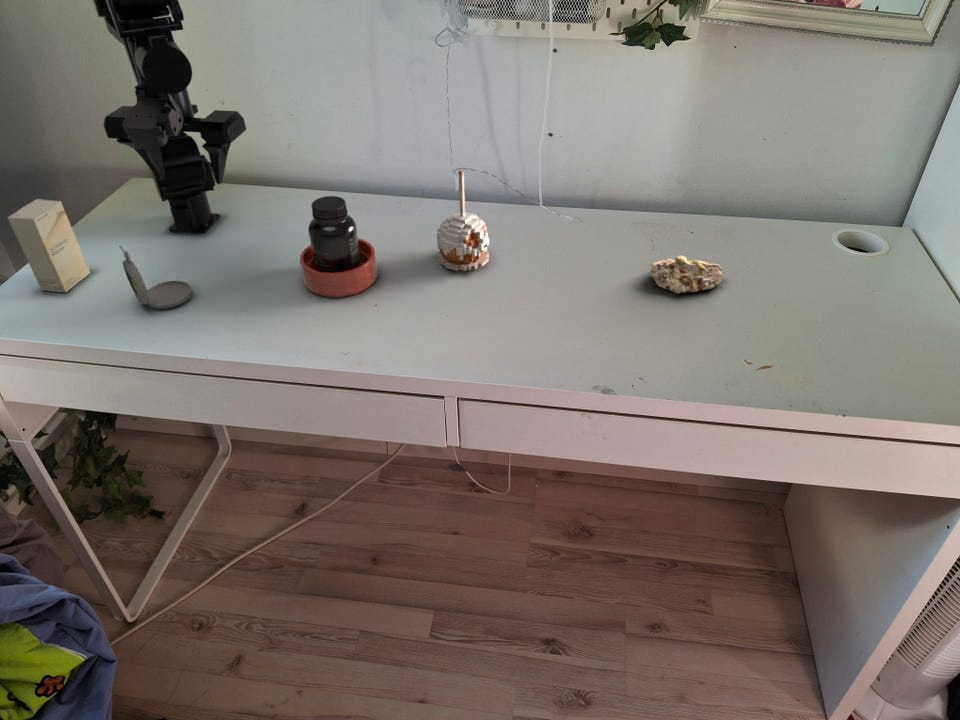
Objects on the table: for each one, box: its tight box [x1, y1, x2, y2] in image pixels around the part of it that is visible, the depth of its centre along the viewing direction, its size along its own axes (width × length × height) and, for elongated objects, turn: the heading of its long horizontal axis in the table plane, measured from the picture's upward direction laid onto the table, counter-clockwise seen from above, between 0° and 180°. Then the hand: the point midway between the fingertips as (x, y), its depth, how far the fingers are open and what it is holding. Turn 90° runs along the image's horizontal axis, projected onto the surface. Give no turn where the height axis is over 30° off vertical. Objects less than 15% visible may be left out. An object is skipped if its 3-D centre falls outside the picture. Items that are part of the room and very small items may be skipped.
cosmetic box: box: [7, 198, 91, 293], centre depth 105 cm, size 6×4×12 cm
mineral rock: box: [650, 254, 725, 295], centre depth 106 cm, size 11×4×8 cm
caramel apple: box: [436, 169, 490, 272], centre depth 108 cm, size 8×8×15 cm
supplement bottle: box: [307, 195, 361, 273], centre depth 105 cm, size 7×7×12 cm
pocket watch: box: [118, 245, 193, 310], centre depth 102 cm, size 8×8×10 cm
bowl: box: [299, 237, 378, 298], centre depth 107 cm, size 11×11×4 cm
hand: (190, 181), depth 106 cm, fingers open, 9 cm apart
